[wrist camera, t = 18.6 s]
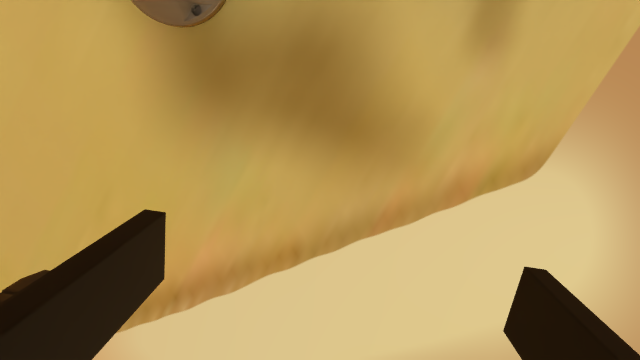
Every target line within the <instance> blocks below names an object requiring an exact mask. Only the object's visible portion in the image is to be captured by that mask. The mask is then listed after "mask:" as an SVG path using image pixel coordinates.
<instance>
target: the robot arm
mask: <svg viewBox="0 0 640 360" xmlns="http://www.w3.org/2000/svg"><path fill="white" fill-rule="evenodd" d="M131 1H132V2H133V3H134V4H135V5H136V6H137V7H138V8H139V9H140V10H141V11H142V12H144V13H145V14H146V15H147V16H149V17H151V18H152V19H154V20H156V21H159V22H161V23H164V24H167V25H170V26H175V27H191V26H195V25H199V24H201V23H203V22H205V21H207V20H209V19H210V18H211V17H213V16H214V15H215V14H216V13H217V12H218V11H219V10H220V8H221V7H222V6H223V4H224V2H225V1H226V0H131ZM165 217H166V213H165V212H158V211H152V210H143V211H142V212H140V213H139V214H137V215H136V216H134V217H133V218H131V219H130V220H128V221H126V222H125V223H123V224H122V225H120V226H119V227H117V228H116V229H114V230H113V231H111V232H110V233H108V234H106V235H105V236H103V237H102V238H100V239H99V240H97V241H96V242H94V243H93V244H91V245H90V246H88V247H86V248H85V249H83V250H82V251H80V252H79V253H77V254H76V255H74V256H73V257H71V258H70V259H68V260H66V261H65V262H63V263H62V264H60V265H59V266H57V267H56V268H54V269H53V270H51V271H48V270H43V271H40V272H38V273H35V274H32V275H30V276H27V277H25V278H22V279H20V280H18V281H17V282H15V283H14V284H12V285H10V286H9V287H7V288H5V289H4V290H2V293H0V360H92V359H93V358H94V356H95V355H96V354H97V353H98V352H99V351H100V350H101V349H102V348H103V347H104V345H105V344H106V343H107V342H108V341H109V340H110V339H111V338H112V337H113V335H114V334H115V333H116V332H117V331H118V330H119V329H120V328H121V326H122V325H123V324H124V323H125V322H126V321H127V320H128V319H129V318H130V316H131V315H132V314H133V313H134V312H135V311H136V310H137V309H138V308H139V306H140V305H141V304H142V303H143V302H144V301H145V300H146V299H147V297H148V296H149V295H150V294H151V293H152V292H153V291H154V290H155V289H156V287H157V286H158V285H159V284H160V283H161V282H162V281H163V280H164V265H165ZM504 333H505V334H506V336H507V337H508V339H509V340H510V342H511V343H512V345H513V347H514V348H515V349H516V351H517V353H518V354H519V356H520V357H521V359H522V360H640V355H639V354H638V353H637V352H636V351H634V350H633V349H632V348H631V347H630V346H629V345H628V344H627V343H626V342H624V341H623V340H622V339H621V338H620V337H619V336H618V335H617V334H616V333H615V332H614V331H612V330H611V329H610V328H609V327H608V326H607V325H606V324H605V323H604V322H602V321H601V320H600V319H599V318H598V317H597V316H596V315H595V314H594V313H593V312H592V311H590V310H589V309H588V308H587V307H586V306H585V305H584V304H583V303H582V302H581V301H579V300H578V299H577V298H576V297H575V296H574V295H573V294H572V293H571V292H569V291H568V290H567V289H566V288H565V287H564V286H563V285H562V284H561V283H560V282H559V281H558V280H556V279H555V278H554V277H553V276H552V275H551V274H550V273H549V272H548V271H547V270H544V269H536V268H530V267H524V270H523V273H522V276H521V279H520V282H519V285H518V288H517V291H516V294H515V297H514V300H513V303H512V306H511V309H510V312H509V315H508V318H507V321H506V324H505V328H504Z"/></svg>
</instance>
